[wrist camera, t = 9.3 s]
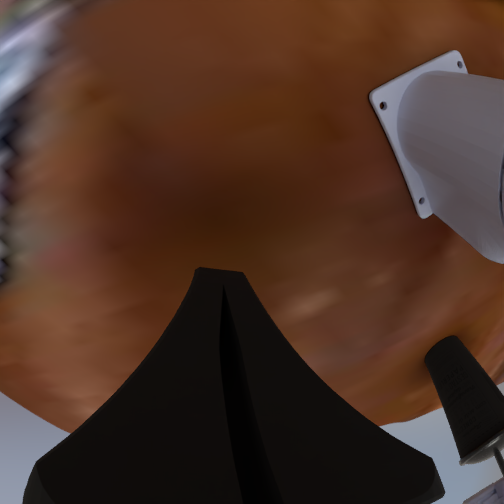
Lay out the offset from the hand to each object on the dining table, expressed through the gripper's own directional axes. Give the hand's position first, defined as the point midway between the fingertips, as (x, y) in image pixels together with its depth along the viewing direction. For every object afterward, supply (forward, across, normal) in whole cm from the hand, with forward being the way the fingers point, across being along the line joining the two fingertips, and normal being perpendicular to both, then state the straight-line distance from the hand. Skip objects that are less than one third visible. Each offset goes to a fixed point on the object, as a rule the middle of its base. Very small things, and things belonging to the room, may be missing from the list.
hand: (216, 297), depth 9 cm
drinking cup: (+10, -27, +14) cm, 32 cm away
